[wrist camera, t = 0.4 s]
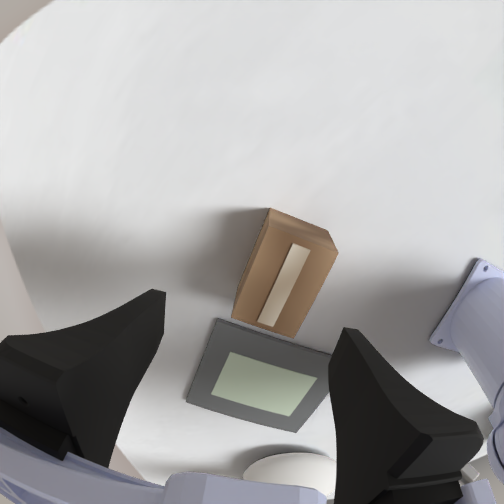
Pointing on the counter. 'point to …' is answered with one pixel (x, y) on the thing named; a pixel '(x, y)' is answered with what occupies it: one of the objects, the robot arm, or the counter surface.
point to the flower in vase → (295, 471)
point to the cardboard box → (284, 274)
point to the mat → (259, 378)
